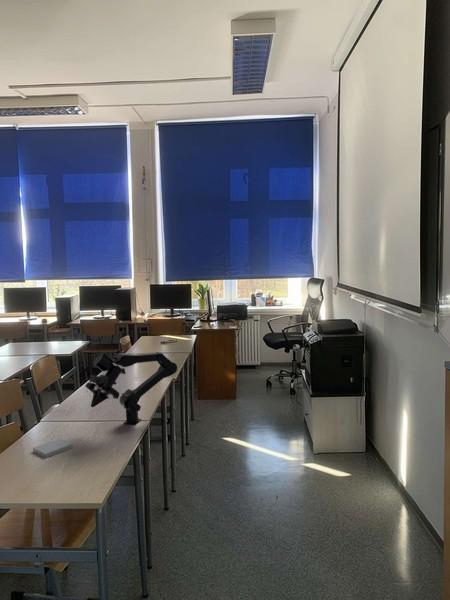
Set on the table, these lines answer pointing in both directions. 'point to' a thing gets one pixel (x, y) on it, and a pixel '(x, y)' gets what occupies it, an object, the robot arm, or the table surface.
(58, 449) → the grey tile
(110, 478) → the table surface
